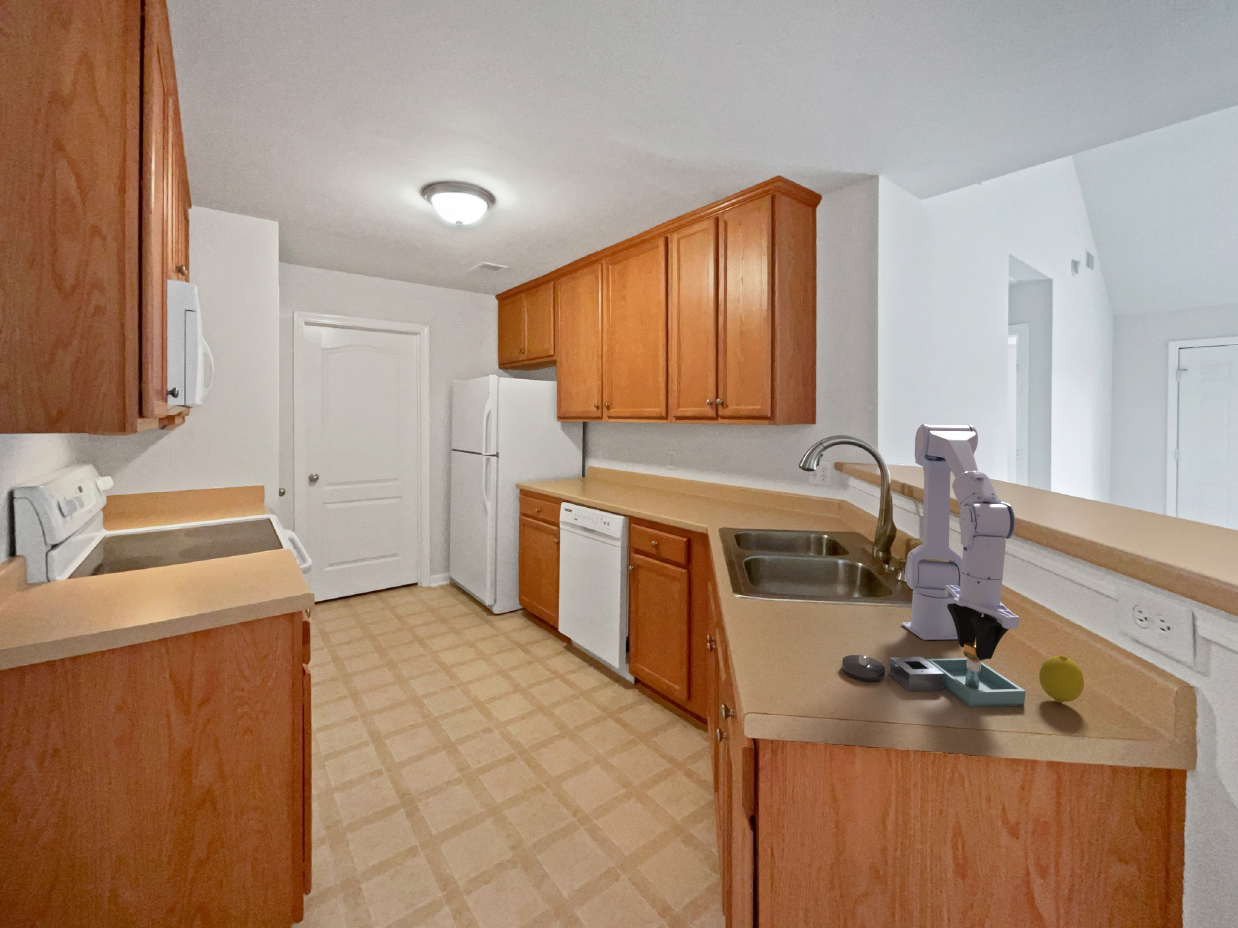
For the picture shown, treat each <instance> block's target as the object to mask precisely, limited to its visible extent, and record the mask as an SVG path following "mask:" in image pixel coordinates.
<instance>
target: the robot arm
mask: <svg viewBox="0 0 1238 928" xmlns="http://www.w3.org/2000/svg"><path fill="white" fill-rule="evenodd" d="M978 443H979V435H978V431H977V429H976V428H975V426H974V425H972V424H967V425H956V424H953V425H952V424H951V425H950V424H949V425H947V424H926V423H925V424H924V423H922V424H921V425H920V426H919V427H918V428H917V429H916V433H915V437H914V460H915V461H914V462H915V464H917V465H918V466H921V467H922V469H923V476H924V477H923V508H922V509H923V510H922V511H923V512H922V513H923V516H922V517H923V518H922V519H923V520H922V543H921V544H919V545H917V547H915V548H912V549H911V550H910V551H909V552H907V553H908V554H907V558H906V564H905V570H904V576H905V582H906V585H907V586H908V587H909V588H910V589H911V590H912V598H911V599H912V601H911V602H912V603H911V616H910V621H908V622H907V621H905V622H904V621H902V622H901V625H902V626H903V627H904V628H906V629H907V630H909V631H910V632H911V633H913V634H914V635H916V636H917V637H919V638H920V639H922V640H924V641H929V640H933V641H934V640H936V641H939V640H940V641H941V640H944V641H945V640H957V641H958V645H959V647H961V648H964V643H965V642H976V655H977V658H979V659H985V660H992V658H993V655H994V653H995V651H996V648H997V646H998V644H999V642H1000V641H1001V640H1002V638H1003V636H1005V634H1006V633H1007V631H1009V630H1011V629H1012V630H1014V629H1015V630H1016V629H1018V630H1019V626H1020V616H1018V615H1016V614H1015V613H1013V612H1012V611H1011V610H1010V609H1009V608H1007V606H1005V605H1004V604H1003V603H1002V602H1001V600H1002V599H1001V598H1002V589H1003V578H1004V577H1003V576H1004V569H1005V568H1004V565H1005V555H1006V545H1007V544H1006V543H1007V540H1010V539H1011V538H1012V537H1013V536H1014V533H1015V530H1016V515H1015V512H1014V509H1013V507H1012V504H1010V503H1007V502H1005V501H1004V500H1003V499H1001V500H1000V499H999V496H998V495H997V493H996V491H995V489H994V486H993V485H992V482H991V480H990V478H989V476H988V475H987V474H986V473H984V472H981V471H979V469H978V466H977V462H976V459H975V452H976V450H977V447H978ZM951 473H952V474H953V476H954V480H953V482H952V484H951ZM951 487H952V491H953V493H954V496H955V499H956V501H957V503H958V506H959V509H960V514H959V517H958V518H959V521H958V522H959V529H960V544H961V545H962V547H963V548H962V557H961V555H960V554H958V552H955V550H953V549H952V548H950V519H951V518H950V517H951V515H950V514H951V513H950V512H951V510H950V509H951V507H950V506H951V505H950V504H951Z"/></svg>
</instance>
